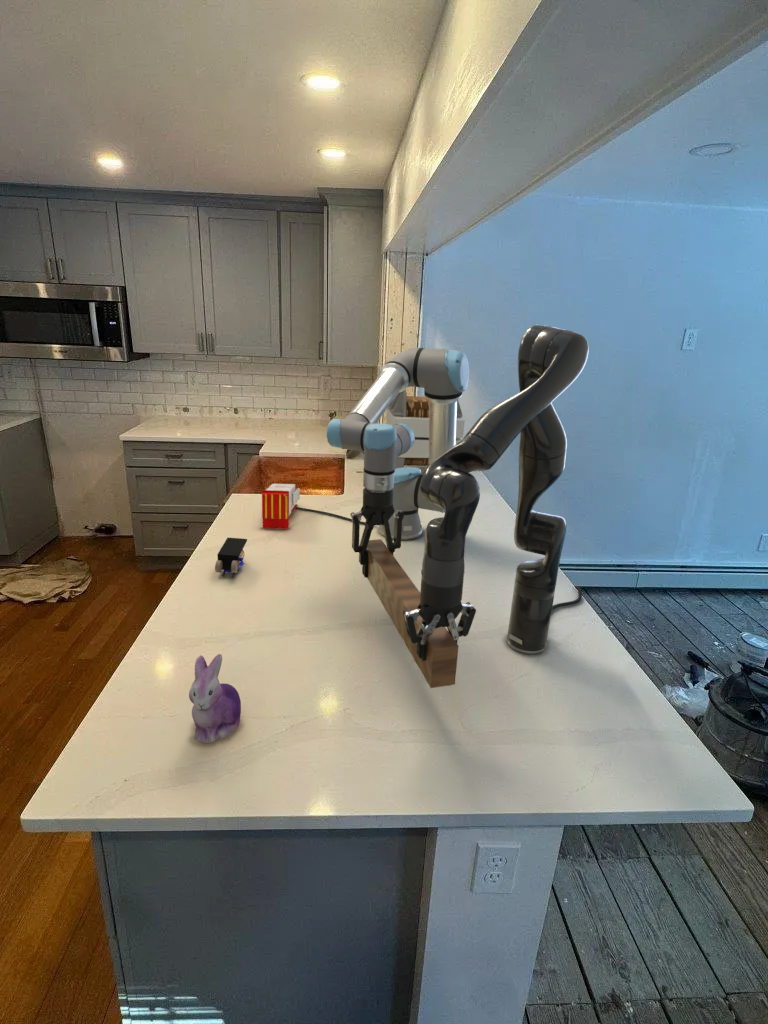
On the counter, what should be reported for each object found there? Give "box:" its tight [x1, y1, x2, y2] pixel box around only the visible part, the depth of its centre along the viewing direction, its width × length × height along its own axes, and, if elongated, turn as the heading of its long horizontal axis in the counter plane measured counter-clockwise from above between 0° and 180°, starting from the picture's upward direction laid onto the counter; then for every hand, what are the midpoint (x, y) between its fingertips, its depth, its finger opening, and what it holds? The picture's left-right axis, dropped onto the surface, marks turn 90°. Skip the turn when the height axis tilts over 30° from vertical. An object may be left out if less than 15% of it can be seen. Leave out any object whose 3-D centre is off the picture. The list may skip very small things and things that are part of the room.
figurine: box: [188, 653, 242, 744], centre depth 103 cm, size 9×10×15 cm
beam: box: [366, 538, 459, 689], centre depth 126 cm, size 50×5×8 cm, turn 17°
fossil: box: [345, 449, 364, 459], centre depth 302 cm, size 22×10×15 cm
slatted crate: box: [385, 389, 465, 469], centre depth 268 cm, size 34×33×41 cm
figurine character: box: [214, 537, 248, 578], centre depth 166 cm, size 7×8×15 cm
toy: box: [261, 483, 301, 530], centre depth 210 cm, size 12×13×30 cm
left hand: (375, 573), depth 146 cm, fingers closed on beam, 5 cm apart
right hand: (436, 656), depth 107 cm, fingers closed on beam, 5 cm apart
